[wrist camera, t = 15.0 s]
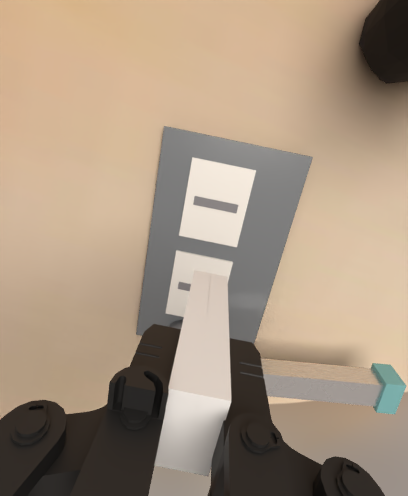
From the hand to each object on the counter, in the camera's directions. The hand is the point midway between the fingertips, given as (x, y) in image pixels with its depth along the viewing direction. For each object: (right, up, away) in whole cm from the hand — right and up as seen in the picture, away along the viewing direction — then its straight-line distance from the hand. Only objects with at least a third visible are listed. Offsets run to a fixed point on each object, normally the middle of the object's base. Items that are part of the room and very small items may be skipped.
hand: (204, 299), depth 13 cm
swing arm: (+8, -12, +21) cm, 25 cm away
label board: (+1, +2, +23) cm, 23 cm away
